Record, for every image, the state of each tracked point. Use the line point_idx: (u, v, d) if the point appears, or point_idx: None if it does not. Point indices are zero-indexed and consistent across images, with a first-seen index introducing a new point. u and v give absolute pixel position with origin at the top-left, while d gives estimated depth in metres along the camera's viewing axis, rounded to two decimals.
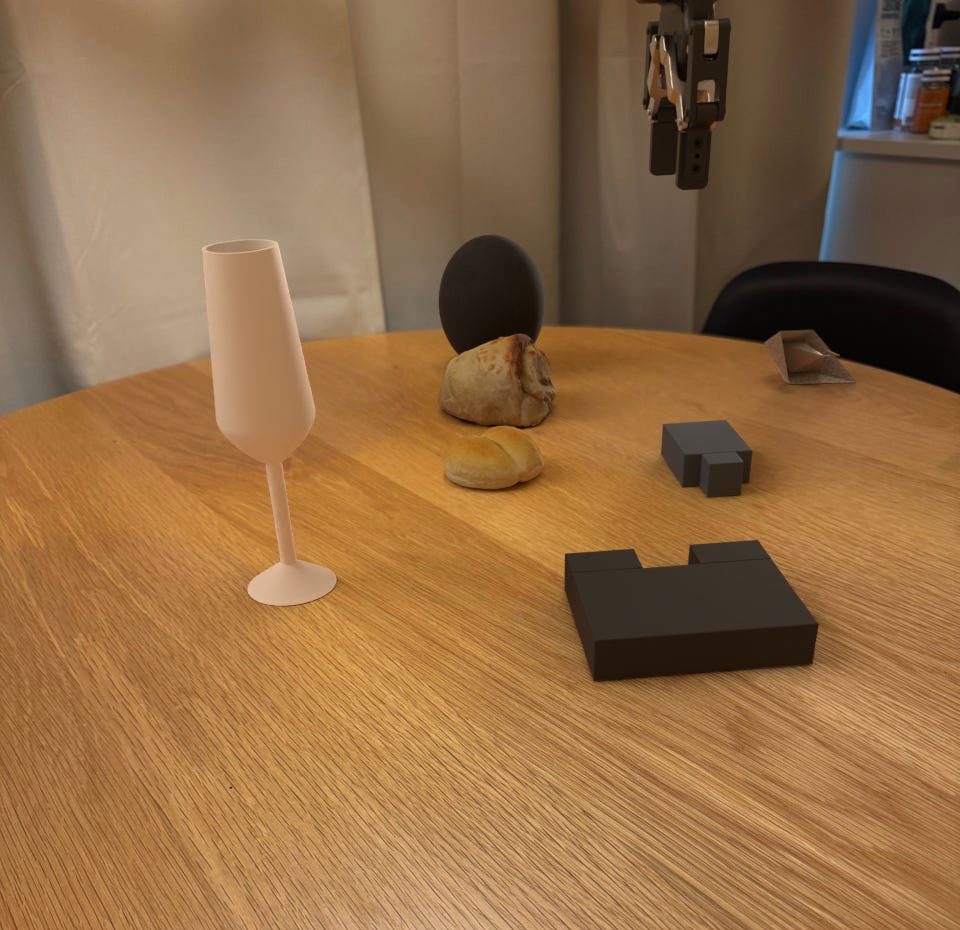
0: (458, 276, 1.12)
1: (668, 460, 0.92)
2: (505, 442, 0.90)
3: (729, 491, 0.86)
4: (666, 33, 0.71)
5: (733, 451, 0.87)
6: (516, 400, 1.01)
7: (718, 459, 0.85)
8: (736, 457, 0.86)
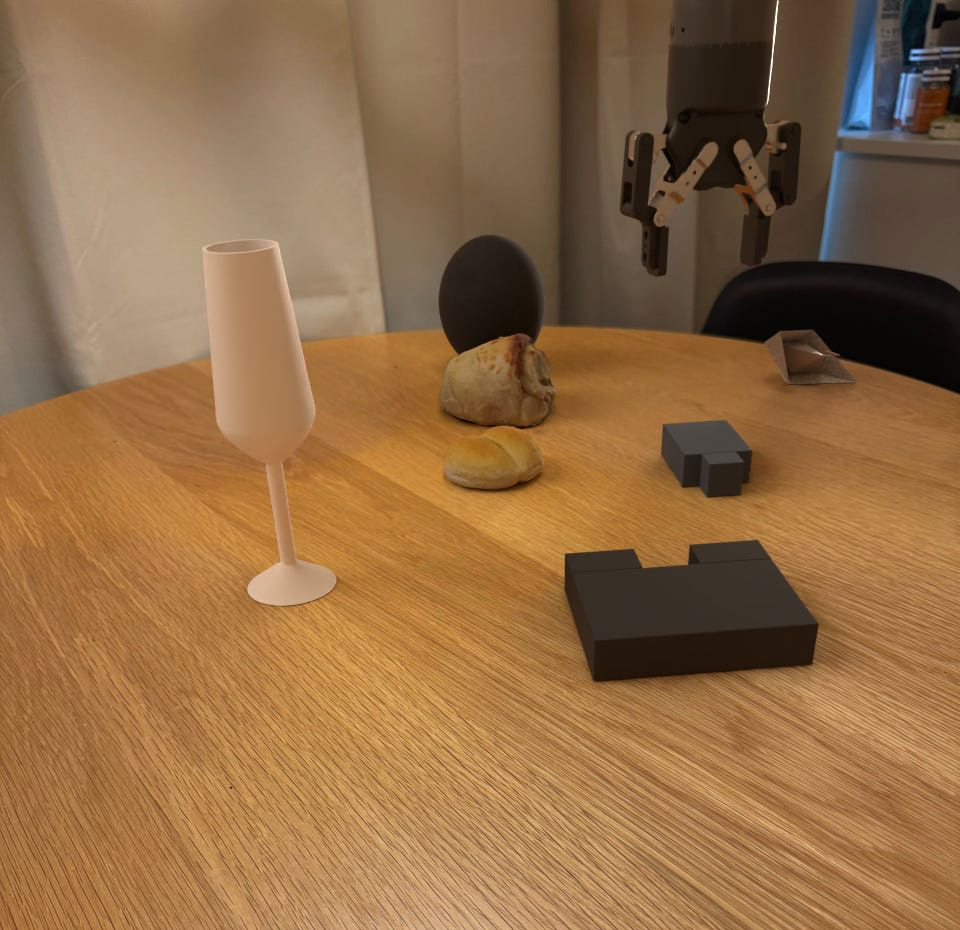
0: (458, 276, 1.12)
1: (668, 460, 0.92)
2: (505, 442, 0.90)
3: (729, 491, 0.86)
4: None
5: (733, 451, 0.87)
6: (516, 400, 1.01)
7: (718, 459, 0.85)
8: (736, 457, 0.86)
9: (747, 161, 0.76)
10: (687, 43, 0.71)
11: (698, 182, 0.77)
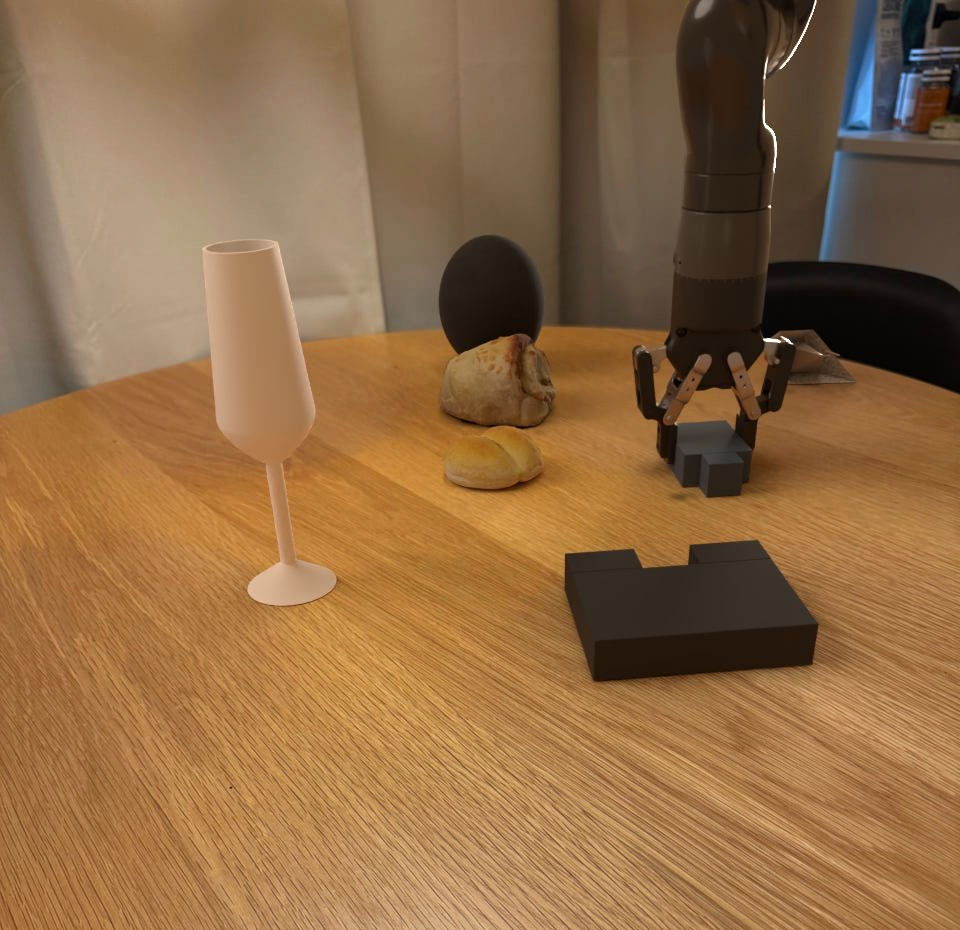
0: (458, 276, 1.12)
1: None
2: (505, 442, 0.90)
3: (729, 491, 0.86)
4: None
5: (733, 451, 0.87)
6: (516, 400, 1.01)
7: (718, 459, 0.85)
8: (736, 457, 0.86)
9: (739, 371, 0.85)
10: (682, 274, 0.81)
11: None
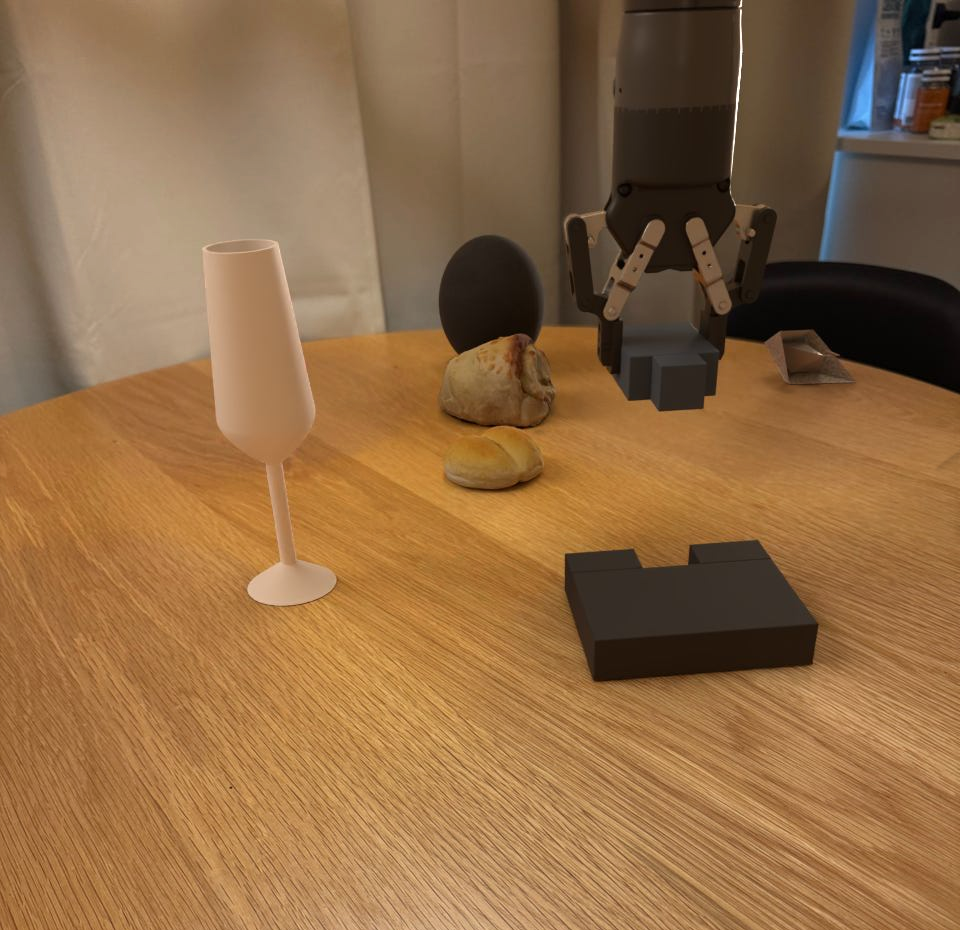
0: (458, 276, 1.12)
1: None
2: (505, 442, 0.90)
3: (688, 404, 0.65)
4: None
5: (694, 353, 0.66)
6: (516, 400, 1.01)
7: (673, 361, 0.65)
8: (697, 359, 0.65)
9: (701, 244, 0.65)
10: (624, 106, 0.61)
11: None
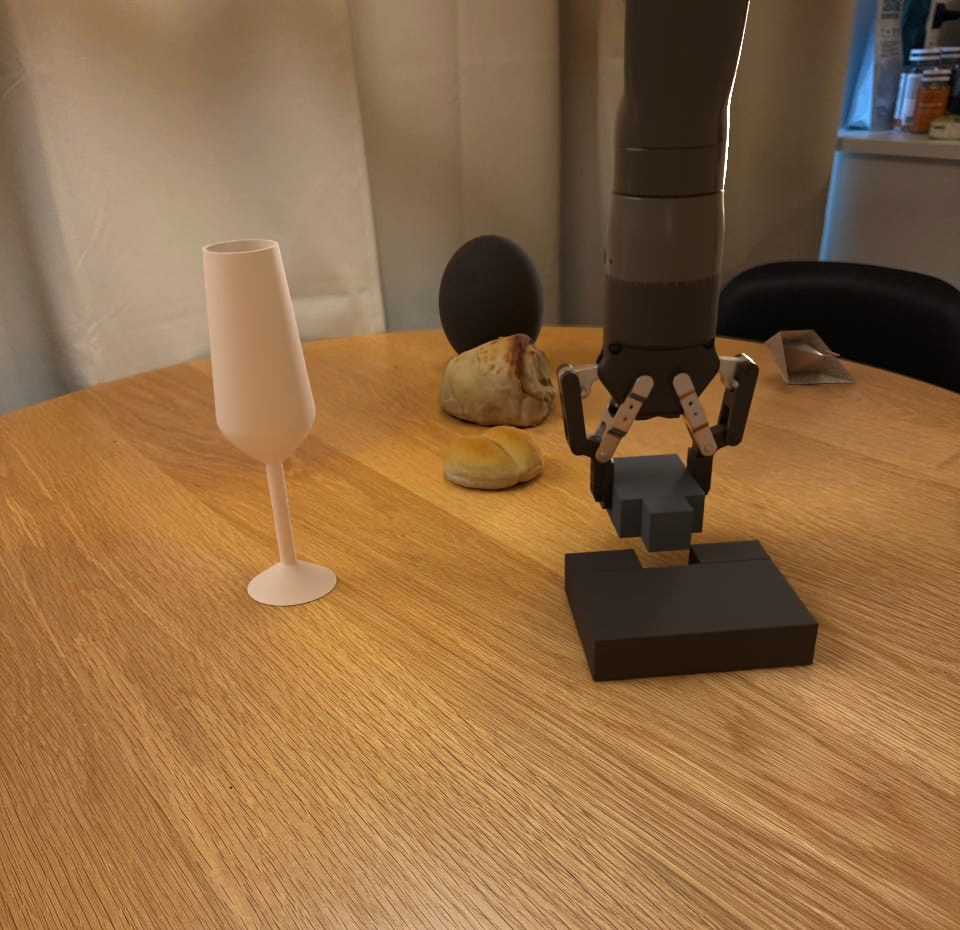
0: (458, 276, 1.12)
1: None
2: (505, 442, 0.90)
3: (676, 545, 0.69)
4: None
5: (682, 496, 0.70)
6: (516, 400, 1.01)
7: (661, 506, 0.69)
8: (684, 503, 0.69)
9: (688, 396, 0.69)
10: (614, 276, 0.64)
11: None
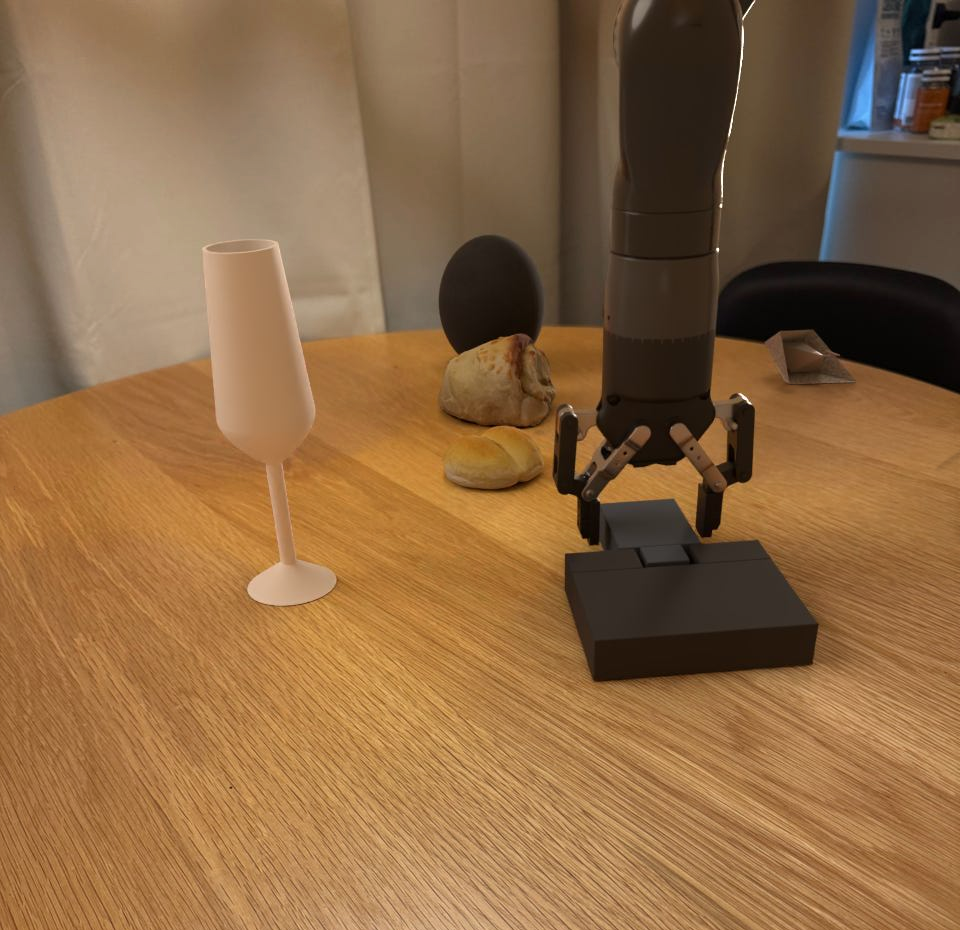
0: (458, 276, 1.12)
1: (604, 548, 0.77)
2: (505, 442, 0.90)
3: None
4: None
5: (678, 544, 0.72)
6: (516, 400, 1.01)
7: (659, 555, 0.71)
8: (680, 552, 0.71)
9: (687, 443, 0.70)
10: (612, 332, 0.66)
11: (633, 460, 0.72)
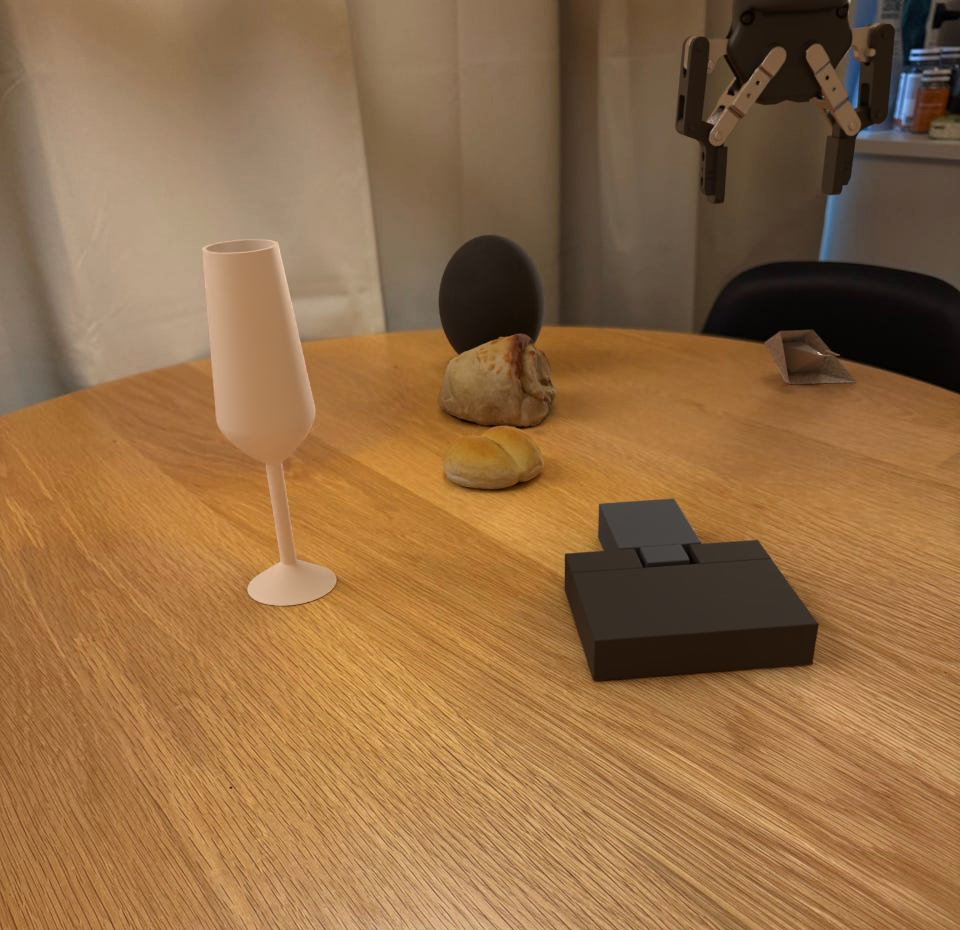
0: (458, 276, 1.12)
1: (604, 548, 0.77)
2: (505, 442, 0.90)
3: None
4: None
5: (678, 544, 0.72)
6: (516, 400, 1.01)
7: (659, 555, 0.71)
8: (680, 552, 0.71)
9: (823, 70, 0.67)
10: None
11: (764, 95, 0.68)
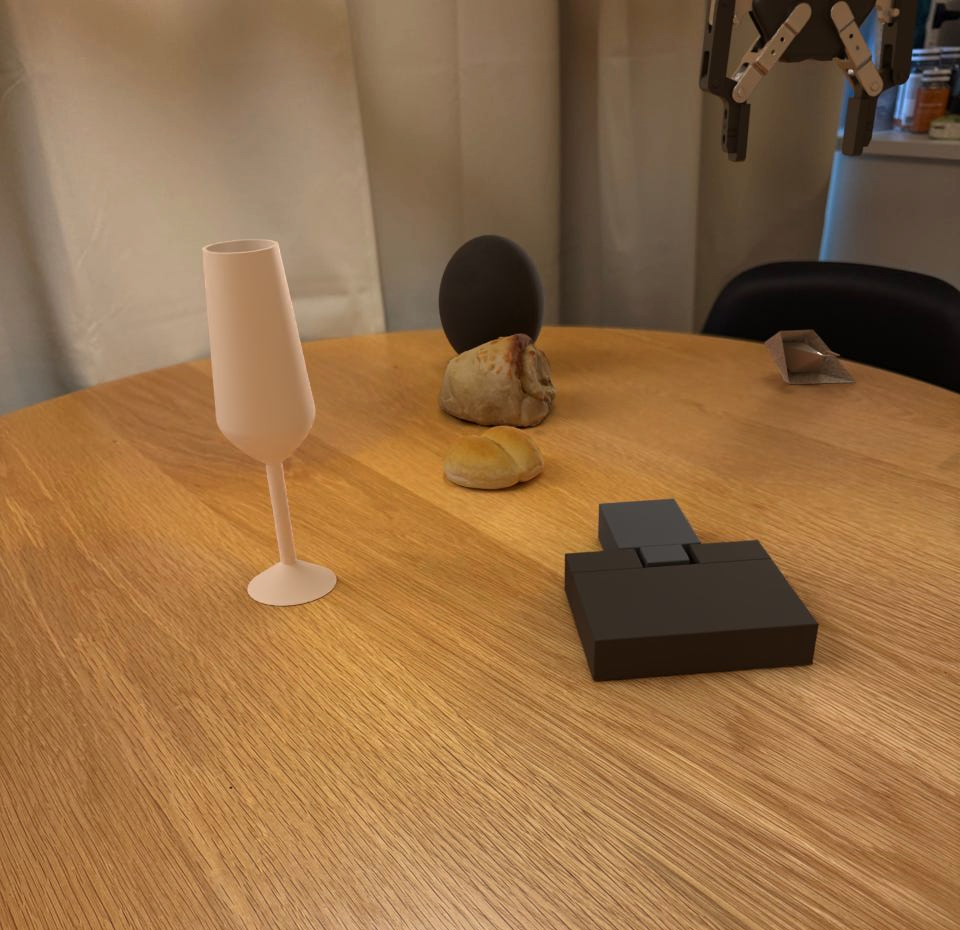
0: (458, 276, 1.12)
1: (604, 548, 0.77)
2: (505, 442, 0.90)
3: None
4: None
5: (678, 544, 0.72)
6: (516, 400, 1.01)
7: (659, 555, 0.71)
8: (680, 552, 0.71)
9: (847, 28, 0.67)
10: None
11: (788, 52, 0.69)
